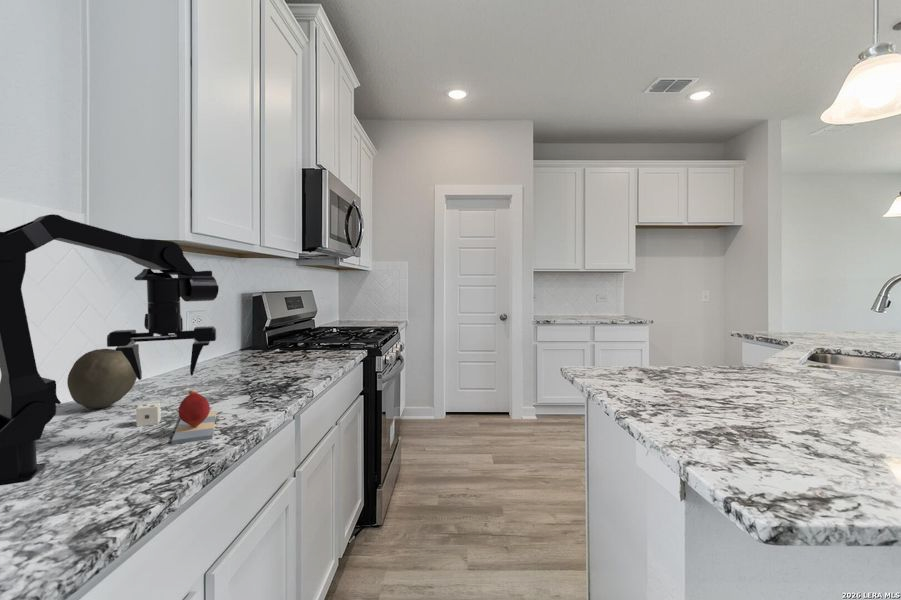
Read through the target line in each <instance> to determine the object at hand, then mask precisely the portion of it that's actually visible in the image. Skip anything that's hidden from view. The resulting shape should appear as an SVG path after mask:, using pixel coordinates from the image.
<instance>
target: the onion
mask: <svg viewBox="0 0 901 600" xmlns="http://www.w3.org/2000/svg"><path fill="white" fill-rule="evenodd" d="M210 409H211V406H210V402H209V400H208V399H206V397H205V396H203V395H202V394H201V393H198V392H196V391H195V390H194V389H190V390H189V391H188V395H187V396H185V397H184V398H183V399H182V401H181V402H180V404H179V406H178V411H177V412H178V413H177V414H178V417H179V418H180V420H182V421H184V422H185V423H187V424H189V425H190V426H192V427H197V426H198V425H199V424H201V423H202V422H203V421H204V420H205V419H206V418H207V416H208V414H209V411H210Z"/></svg>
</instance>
